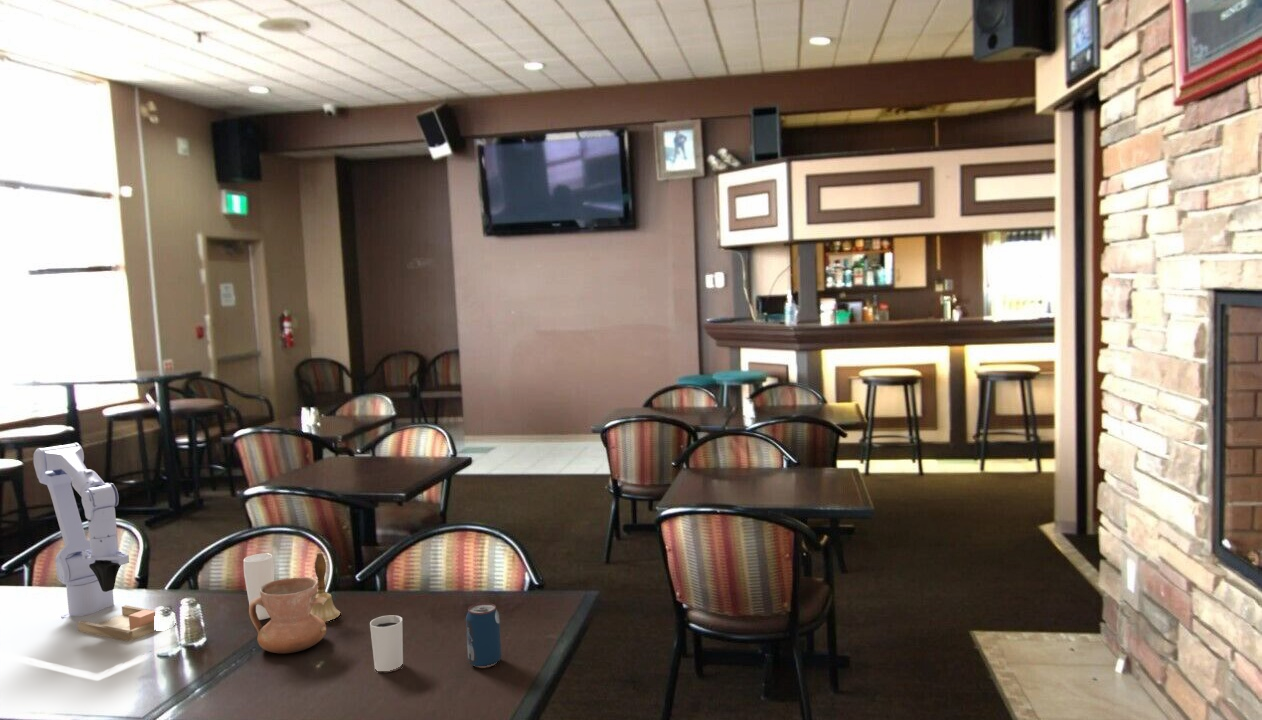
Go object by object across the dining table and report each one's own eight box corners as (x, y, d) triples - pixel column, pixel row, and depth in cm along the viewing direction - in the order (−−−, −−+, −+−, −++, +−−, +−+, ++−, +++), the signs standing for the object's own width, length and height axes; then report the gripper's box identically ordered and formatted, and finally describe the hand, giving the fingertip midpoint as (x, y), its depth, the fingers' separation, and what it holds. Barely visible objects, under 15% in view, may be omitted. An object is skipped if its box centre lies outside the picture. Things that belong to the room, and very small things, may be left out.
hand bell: (310, 612, 219) (306, 549, 218) (344, 610, 220) (340, 547, 219) (301, 625, 211) (296, 560, 210) (336, 622, 212) (332, 558, 210)
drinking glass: (266, 622, 213) (262, 562, 212) (241, 621, 215) (237, 561, 213) (282, 612, 220) (278, 553, 219) (258, 611, 221) (254, 552, 220)
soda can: (507, 658, 188) (504, 603, 187) (491, 671, 181) (488, 615, 180) (478, 654, 190) (475, 600, 189) (462, 668, 184) (459, 612, 183)
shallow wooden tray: (126, 617, 220) (125, 605, 220) (175, 627, 212) (174, 614, 212) (79, 635, 209) (78, 622, 209) (129, 646, 202) (128, 632, 201)
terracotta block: (145, 625, 211) (144, 609, 211) (157, 627, 209) (155, 611, 209) (130, 631, 207) (128, 615, 207) (141, 634, 206) (140, 617, 205)
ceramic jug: (343, 633, 205) (339, 574, 203) (313, 660, 190) (309, 596, 189) (270, 633, 207) (265, 574, 206) (235, 659, 192) (230, 595, 191)
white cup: (376, 677, 181) (373, 629, 180) (369, 665, 187) (366, 619, 186) (408, 669, 184) (405, 623, 183) (401, 658, 190) (398, 613, 189)
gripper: (67, 537, 211) (72, 592, 212) (106, 542, 205) (111, 599, 206) (96, 529, 217) (101, 582, 219) (135, 534, 211) (139, 589, 212)
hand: (108, 590), depth 213 cm, fingers closed
